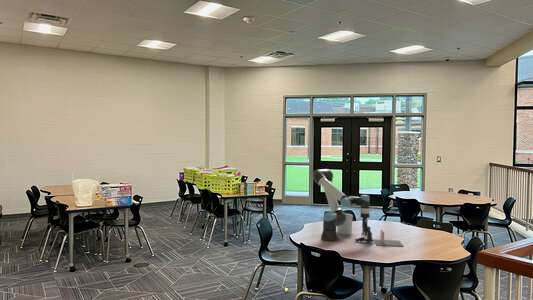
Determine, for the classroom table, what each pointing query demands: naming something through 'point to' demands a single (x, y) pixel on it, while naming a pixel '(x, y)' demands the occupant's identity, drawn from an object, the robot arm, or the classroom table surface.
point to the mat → (388, 243)
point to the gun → (369, 236)
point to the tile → (382, 237)
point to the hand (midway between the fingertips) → (364, 237)
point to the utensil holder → (346, 226)
